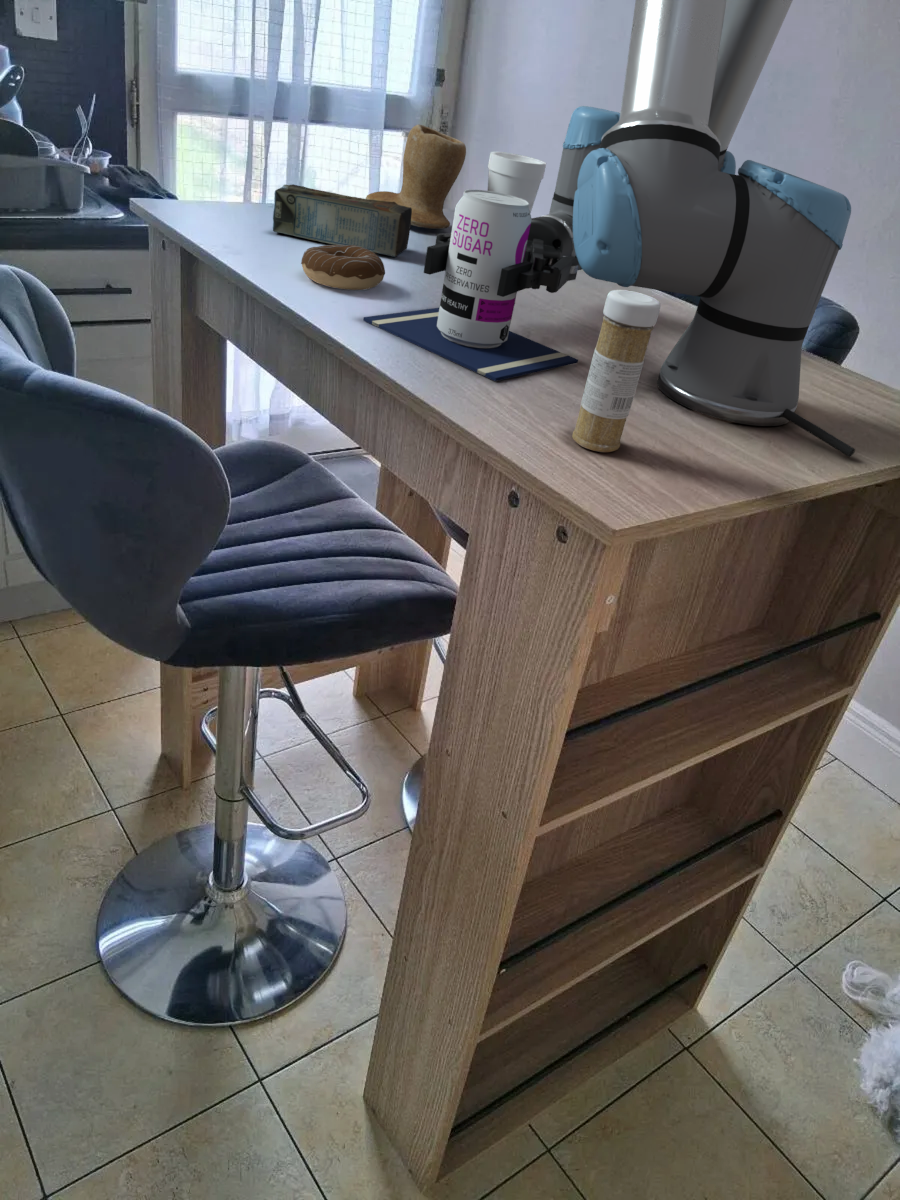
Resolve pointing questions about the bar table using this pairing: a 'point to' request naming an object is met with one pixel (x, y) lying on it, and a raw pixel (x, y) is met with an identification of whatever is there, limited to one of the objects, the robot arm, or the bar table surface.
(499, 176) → the foam cup
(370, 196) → the tan boot
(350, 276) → the donut
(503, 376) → the tea towel
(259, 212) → the bar table surface
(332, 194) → the beverage carton
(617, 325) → the sprinkles bottle
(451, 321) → the white soda can
